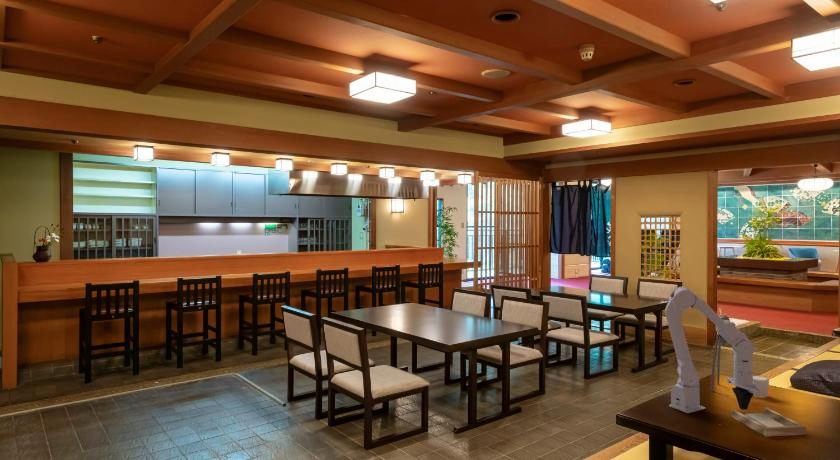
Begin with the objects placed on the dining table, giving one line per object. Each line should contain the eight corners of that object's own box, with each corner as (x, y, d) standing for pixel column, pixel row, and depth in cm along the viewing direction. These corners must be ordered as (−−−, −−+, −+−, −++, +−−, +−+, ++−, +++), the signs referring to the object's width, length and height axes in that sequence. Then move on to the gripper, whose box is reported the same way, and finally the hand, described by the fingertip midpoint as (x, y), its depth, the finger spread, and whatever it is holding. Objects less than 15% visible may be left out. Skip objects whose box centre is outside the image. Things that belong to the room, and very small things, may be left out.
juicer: (742, 392, 201) (741, 317, 200) (711, 391, 203) (711, 316, 202) (732, 384, 210) (732, 312, 210) (703, 383, 213) (702, 312, 212)
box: (731, 416, 178) (731, 409, 178) (767, 414, 179) (767, 407, 179) (765, 436, 162) (765, 428, 162) (805, 434, 163) (805, 426, 163)
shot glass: (768, 394, 199) (768, 376, 198) (769, 400, 193) (769, 381, 193) (748, 391, 202) (747, 374, 202) (748, 396, 196) (748, 379, 196)
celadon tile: (744, 419, 176) (744, 413, 176) (761, 418, 177) (760, 413, 177) (757, 426, 170) (757, 420, 170) (774, 425, 171) (774, 419, 171)
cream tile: (757, 426, 170) (756, 420, 170) (773, 425, 171) (773, 419, 171) (770, 434, 164) (770, 428, 164) (788, 433, 165) (788, 427, 165)
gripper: (769, 376, 174) (769, 416, 174) (739, 364, 188) (740, 401, 189) (749, 377, 173) (749, 417, 174) (721, 365, 188) (721, 401, 188)
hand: (743, 408), depth 181 cm, fingers closed
